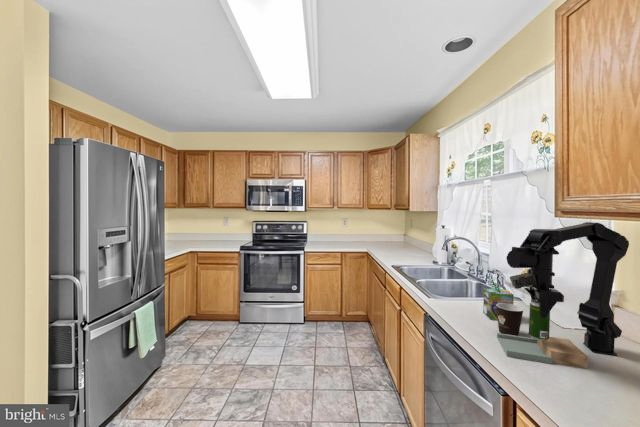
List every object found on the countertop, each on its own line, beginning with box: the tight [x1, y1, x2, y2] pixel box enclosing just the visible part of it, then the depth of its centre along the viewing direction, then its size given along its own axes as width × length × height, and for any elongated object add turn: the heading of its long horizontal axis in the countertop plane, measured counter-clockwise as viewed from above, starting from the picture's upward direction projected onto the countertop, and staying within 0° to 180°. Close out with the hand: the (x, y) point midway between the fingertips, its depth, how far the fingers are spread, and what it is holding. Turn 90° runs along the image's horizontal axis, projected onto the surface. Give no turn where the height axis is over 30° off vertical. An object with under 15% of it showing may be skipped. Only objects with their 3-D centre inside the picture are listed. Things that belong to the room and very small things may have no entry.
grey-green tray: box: [496, 332, 553, 364], centre depth 98 cm, size 12×14×2 cm
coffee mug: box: [492, 303, 524, 336], centre depth 112 cm, size 12×9×10 cm
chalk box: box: [482, 281, 515, 321], centre depth 127 cm, size 9×9×15 cm
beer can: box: [528, 299, 551, 341], centre depth 96 cm, size 5×5×12 cm
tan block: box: [537, 336, 588, 369], centre depth 94 cm, size 9×12×4 cm
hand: (539, 314), depth 96 cm, fingers closed on beer can, 5 cm apart
